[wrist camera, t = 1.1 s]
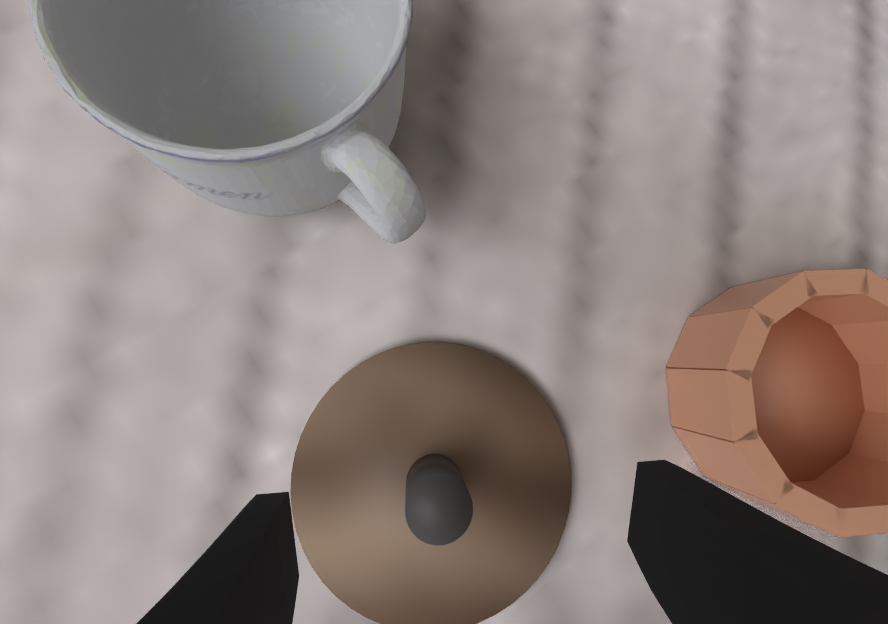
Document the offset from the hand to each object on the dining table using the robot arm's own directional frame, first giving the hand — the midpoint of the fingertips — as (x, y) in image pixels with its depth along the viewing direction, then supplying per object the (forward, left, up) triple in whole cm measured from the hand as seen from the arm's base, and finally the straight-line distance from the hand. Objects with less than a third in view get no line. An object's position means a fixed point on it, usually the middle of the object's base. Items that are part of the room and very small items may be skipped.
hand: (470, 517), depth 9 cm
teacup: (+13, +5, -11) cm, 18 cm away
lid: (-2, 0, -11) cm, 11 cm away
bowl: (+1, -16, -11) cm, 19 cm away
